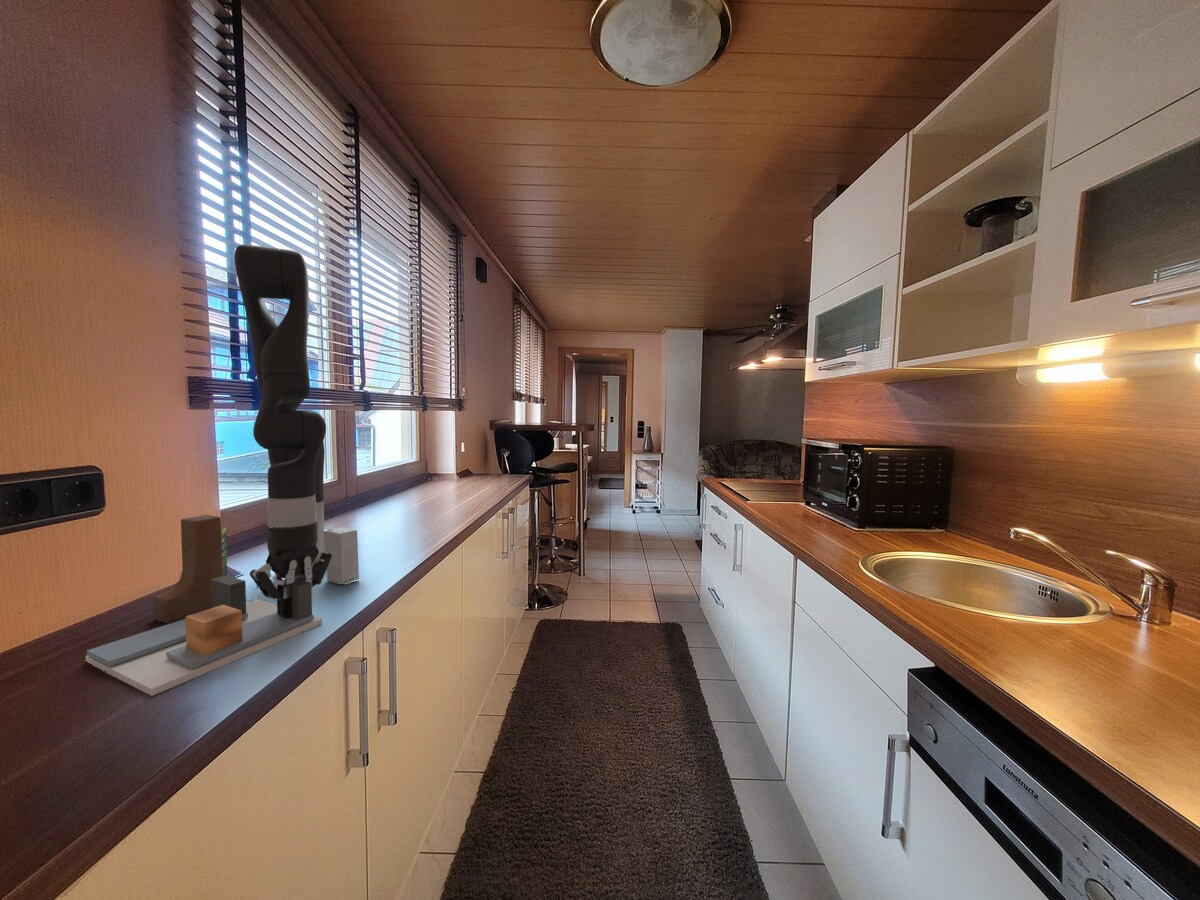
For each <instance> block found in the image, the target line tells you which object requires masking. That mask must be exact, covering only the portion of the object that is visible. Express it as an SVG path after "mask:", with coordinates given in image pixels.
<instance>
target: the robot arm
mask: <svg viewBox="0 0 1200 900" xmlns="http://www.w3.org/2000/svg"><path fill="white" fill-rule="evenodd" d="M306 264H307V263H306V261H305V259H304V257H303V255H302V254H301V253H300V252H298V251H296V250H291V249H285V248H280V247H279V248H278V247H270V246H262V245H255V244H239V245H238V246H237V247H236V248H235V250H234V269H235V274H236V277H237V281H238V285H239V286H238V287H239V290H240V294H241V298H242V302H243V305H244V306H243V307H244V310H245V314H246V320H247V322H248V326H249V333H250V337H251V338H250V339H251V344H252V345H251V346H252V353H253V360H254V361H253V362H254V368H255V374H256V380H257V384H258V385H257V386H258V388H259V389H258V390H259V393H260V397H261V398H260V399H261V402H260V405H259V409H258V412H257V414H256V418H255V420H254V425H253V429H252V430H253V431H252V432H253V433H252V434H253V438H254V441H255V442H256V443H257V444H258V445H259V446H260V447H261V448H263V449H265V450H267V453H268V461H269V465H270V467H268V470H267V505H266V539H267V540H266V541H267V543H266V545H267V546H266V547H267V550H268V555H267V558H266V560H265V564H263V565H262V566H260V568H258V569H252V570H251V571H250V572H249V576H250V578H251V579H252V580H253V582H254V583H255V584H256V586H257V587H258V589H259V590H260V592H261V594H263V596H264V597H267V598H269V599H270V598H271V599H272V600H276V605H277V613H278V615H280V616H281V617H283V618H286V619H287V618H290V617H291V616H292V604H291V597H290V595H291V586H292V585H293V583H294V578H295V579H299V580H303V581H307V582H311V584H312V589H313V588H314V587H316V585H320V584H321V583H322V581H323V579H324V578H325V574H326V573H327V567H328V565H329V562H330V560H331V557H332V554H331V553H326V549H325V531H326V530H327V529H325V508H324V507H325V505H324V504H325V503H324V501H325V500H324V499H325V498H324V494H325V493H324V469H325V451H326V450H325V443H324V440H325V437H326V433H327V425H326V421H325V419H324V417H323V416H322V415H321V414H320V413H319V412H318V411H315V410H306V409H304V410H302V409H300V410H299V407H300V406H301V404H302V403H303V402H304V400H305V399H307V398H309V396H310V393H311V383H310V382H311V381H310V374H309V372H310V371H309V362H308V334H309V333H308V329H309V305H310V301H309V300H310V299H309V297H310V294H309V291H310V289H309V286H310V285H309V276H308V275H309V274H308V269H307V265H306ZM264 299H274V300H275V299H276V300H286V301H289V304H288V305H289V306H288V309H287V311H286V314H285V315H284V317H283V318H282V320H281V322H280V323H278V322H276V320H275V319H274V317H273V316H272V315H271V313H270V311H269V309H268V307H267V305H266V303H265V301H264ZM271 571H272V572H273V573H274V582H273V581H272V579H271V577H272V574H271Z"/></svg>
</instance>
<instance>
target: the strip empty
mask: <svg viewBox="0 0 1200 900" xmlns="http://www.w3.org/2000/svg"><path fill="white" fill-rule="evenodd" d="M246 588H247V587H246V580H244V579H241V578H238V577H237V578H236V577H233V576H229V575H227V576H222V577H218V578H214V579H211V608H214V607H217V606H220V605H226V606H229V607H232V608H235V609H238V610H242V620H243V619H246V618H248V613H246V603H247V601H246V600H247V597H246V596H247V593H246V592H247V591H246ZM184 640H186V620H185V618H184V619H181V620H178V621H175V622H172V623H169V624H165V625H162V626H158V627H155V628H153V629H149V630H146V631H142V632H140V633H137V634H134V635H130V636H128V637H124V638H121V639H118V640H115V641H112V642H108V643H107V644H103V645H100V646H97V647H94V648H91V649H87V650H86V656H89V657H91V658H93V659H95V660H97V661H99V662H101V663H103V664H105V665H107V666H109V667H111V666H113V665H116V664H119V663H122V662H125V661H127V660H130V659H133V658H136V657H139V656H142V655H144V654H147V653H150V652H153V651H156V650H158V649H161V648H164V647H167V646H170V645H172V644H175V643H178V642H181V641H184Z"/></svg>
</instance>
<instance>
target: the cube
mask: <svg viewBox="0 0 1200 900" xmlns="http://www.w3.org/2000/svg"><path fill="white" fill-rule="evenodd" d="M184 619H185V620H186V648H188V649H190V650H193V651H195V652H198V653H200V654H202V655H208V654H210V653H213V652H215V651H218V650H220V649H223V648H225V647H228V646H230V645H233V644H236V643H238V642H241V641H242V610H238V609H235V608H232V607H229V606H226V605H220V606H217V607H214V608H211V609H208V610H205V611H202V612H198V613H195V614H192V615H189V616H186V617H185V618H184Z"/></svg>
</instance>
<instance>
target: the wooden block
mask: <svg viewBox="0 0 1200 900" xmlns="http://www.w3.org/2000/svg"><path fill="white" fill-rule="evenodd" d="M221 520H222V518H221V516H216V515H211V514H210V515H209V514H203V515H202V514H201V515H197V516H190V517H186V518H181V520H180V535H181V536H180V537H181V559H182V560H181V565H182V567H181V568H182V570H181V572H180V573H181V574H180V577H179V580H178V581H177V582H176V583H175V584H174V585H173V586H172V588H171V589H168V590H167V591H164V592H162V593H159V594H157V595H155V596H153V597H152V601H153V602H152V604H153V619H154V620H155V621H158V622H162V623H165V624H166V625H168V624H171V623H174V622H177V621H180V620H183V619H185V617H186V616H189V615H192V614H195V613H198V612H202V611H205V610H208V609H211V579H214V578H218V577H222V576H223V574H222V540H221V527H222V521H221Z"/></svg>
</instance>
